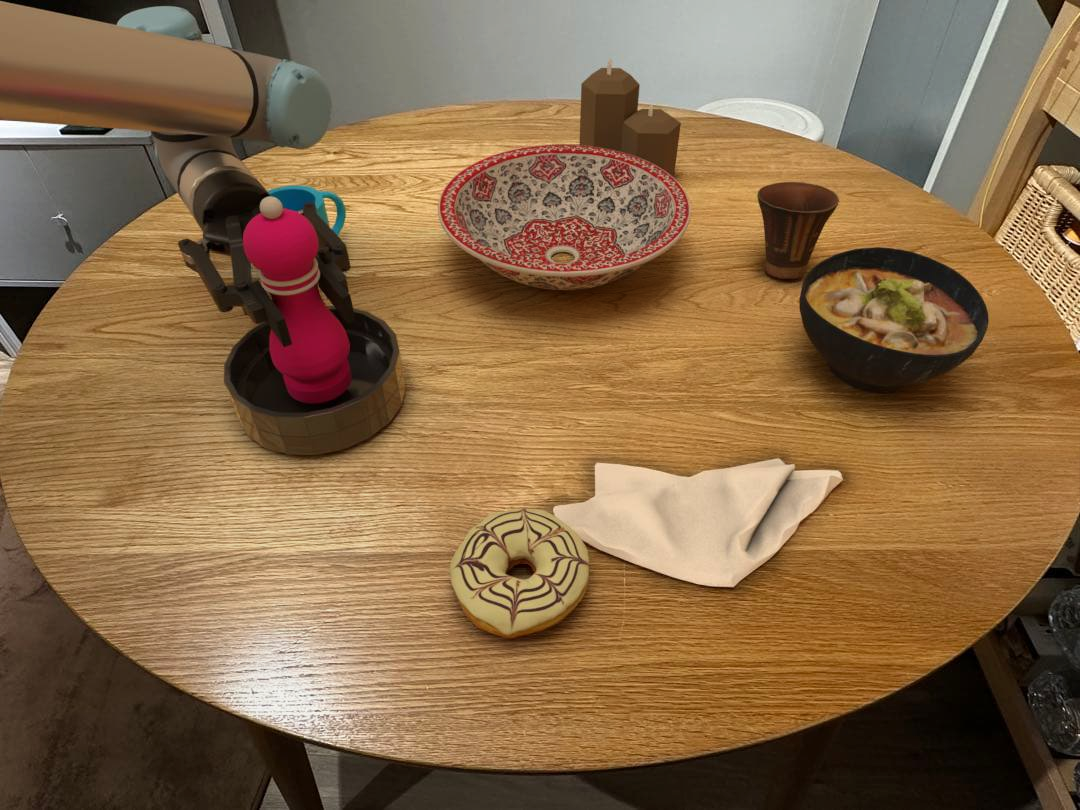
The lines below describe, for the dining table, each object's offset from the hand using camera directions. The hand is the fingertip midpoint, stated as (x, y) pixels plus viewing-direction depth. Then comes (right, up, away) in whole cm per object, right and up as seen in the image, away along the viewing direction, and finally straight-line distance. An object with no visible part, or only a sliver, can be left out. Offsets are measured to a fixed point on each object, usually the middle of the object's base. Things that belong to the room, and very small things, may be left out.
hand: (317, 320), depth 65 cm
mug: (-9, +11, +31) cm, 34 cm away
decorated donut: (+17, -21, -3) cm, 28 cm away
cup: (+48, +10, +29) cm, 57 cm away
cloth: (+33, -17, +1) cm, 37 cm away
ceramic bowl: (+21, +11, +30) cm, 39 cm away
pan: (-3, -6, +12) cm, 14 cm away
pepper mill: (-3, -5, +11) cm, 12 cm away
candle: (+30, +26, +46) cm, 61 cm away
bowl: (+53, -3, +16) cm, 55 cm away
